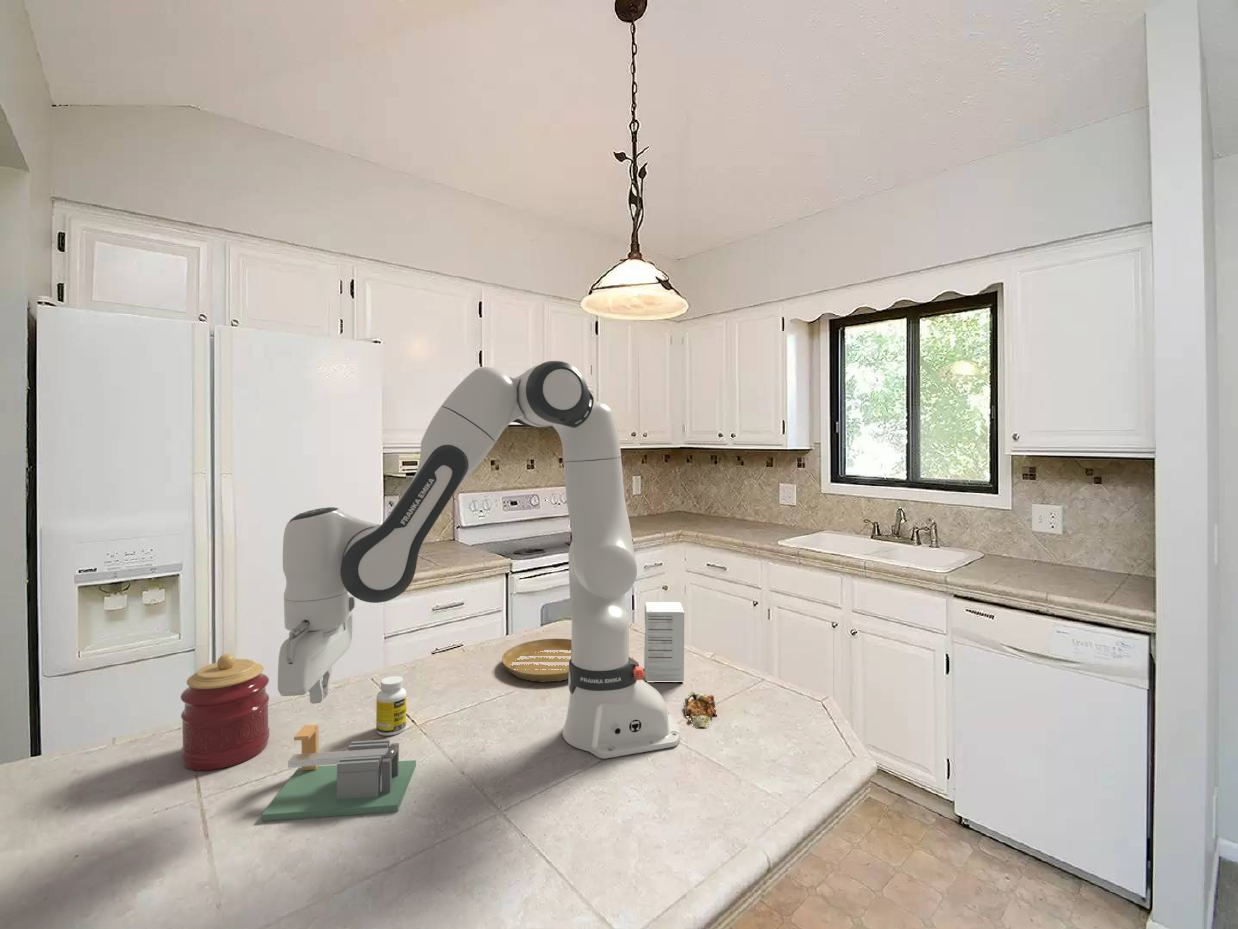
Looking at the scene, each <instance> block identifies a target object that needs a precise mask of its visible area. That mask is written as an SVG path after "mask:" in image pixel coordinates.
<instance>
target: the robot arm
mask: <svg viewBox="0 0 1238 929" xmlns="http://www.w3.org/2000/svg"><path fill="white" fill-rule="evenodd" d="M512 422H514V423H516V424H520V425H522V426H525V427H529V428H548V427H553V428H554V429H555V431H556V432H557V433H558V436H559V438H560V441H561V445H562V460H563V472H564V473H563V474H564V485H565V486H564V487H565V499H566V506H567V511H568V512H567V513H568V518H569V524H570V533H571V539H572V540H571V542H570V545H569V548H568V582H569V599H570V600H569V602H570V615H571V619H570V621H571V622H570V623H571V630H570V632H571V633H570V634H571V638H570V639H571V659H570V660H569V667H568V680H567V682H568V683H567V685H568V689H569V700H568V707H567V712H566V718H565V722H564V724H563V729H562V732H561V734H562V736H563V739H564V741H565V742H566V743H567V744H568V745H571V746H572V747H574V748H576V749H579V750H582V751H586V752H589V753H591V754H593V755H594V756H595V757H597V758H599V759H604V760H605V759H610V758H617V757H623V756H627V755H633V754H634V755H635V754H639V753H644V752H645V753H646V752H649V751H650V752H652V751H656V750H662V749H669V748H674V747H677V745H678V744H679V743H680V740H681V730H680V726H679V724H678V722H677V720H676V718H674V716H673V715H672V714H671V713H670V712H668V709H667V704H666V702H665V699H664V698H663V696H662V695H661V693H660V692H659V690H658V689H656V688H655V687H653V686H652V685H651V684H649V682H645V680H644V679H645V672H644V668H643V667H641V666H640V664H639V662H638V661H637V660H636V658H634V657H633V656H631V657H630V656H629V654H630V648H629V647H630V644H629V643H630V640H629V639H630V635H629V634H630V618H629V614H628V606H627V605H628V604H627V597H626V593H627V592H629V591H630V590H631V588H632V587H633V586H634V585H635V584H634V583H635V581H636V579H637V574H638V565H637V560H636V555H635V549H634V542H633V541H634V540H633V536H632V531H631V526H630V519H629V515H628V514H629V513H628V509H627V503H626V497H625V487H624V473H623V465H622V464H623V463H622V451H621V444H620V443H621V442H620V437H619V436H620V435H619V433H618V432H619V431H618V428H617V424H616V420H615V415H614V413H613V410H612V409H611V407H610V406H608V405H607V404H606V403H603V401H602V402H601V401H598V400H595V398H594V395H593V394H592V392H591V391H590V390H589V388H588V385H587V382H586V380H585V378H584V377H583V375H582V374H581V372H580V371H579V370H578V369H577V368H576V367H575V366H574V365H572V364H571V363H568V362H565V361H561V360H549V361H544V362H543V363H540V364H538V365H535V366H532V367H530V368H529V369H527V370H526V371H524V372H523V373H522V374H519V375H518V376H516V377H511V376H508V375H507V374H505V373H504V372H503V371H502V370H499V369H496V368H493V367H490V366H482V367H478V368H475V369H474V370H473V371H472V372H470V373H469V374H468V375H467V376H466V377H465V378H464V379H463V380H462V381H461V382H460V383H459V384H457V386H456V387H455V388H454V389H453V391H452V392H451V393H450V394H449V395H448V396H447V397H446V399H445V400H444V401H443V403H442V404H441V406H440V407H439V408H438V410H437V411H436V412H435V414H434V416H433V417H432V419H431V421H430V422H429V424H428V426H427V428H426V430H425V432H424V434H423V437H422V439H421V441H420V452H419V453H420V457H419V462H418V466H417V469H416V472H415V474H414V476H413V478H412V480H411V482H410V483H409V485H408V486H407V488H406V489H405V490H404V492H403V494H402V495H401V497H400V498H399V500H398V501H397V502H396V504H395V506H394V507H393V508H392V510H391V512H390V513H389V514H388V515H387V517H386V519H385V520H384V521H383V523H382V524H377V523H373V522H369V521H365V520H362V519H359V518H357V517H354V516H353V515H350V514H347V513H346V512H344V510H341V509H340V508H338V507H333V506H332V507H320V508H315V509H312V510H307V511H304V512H301V513H299V514H296V515H295V516H294V517H292V518H291V519H290V520H289V521H288V522H287V523H286V525H285V528H284V532H283V537H282V538H283V539H282V572H283V573H284V576H285V582H286V584H285V589H284V592H283V609H284V612H283V613H284V614H283V615H284V616H283V617H284V628H285V630H287V631H289V633H288V638H287V639H286V640H284V641H283V642H282V644H281V646H280V649H279V653H278V663H277V664H278V665H277V667H278V668H277V691H278V693H279V694H280V696H282V697H295V696H296V697H297V696H304V695H305V694H307V693H309V702H310V703H311V704H321V703H322V702H323V701H324V699H325V698H326V697H327V696H328V695H329V694H330V687H329V686H330V681H331V676H332V672H333V669H332V668H333V666H334V665H335V664H336V663H337V662H338V661H339V660H340V659H341V658H342V657H343V656H344V655H345V654H346V652H348V650H349V649H350V647H351V645H352V641H353V631H354V630H353V628H354V626H353V624H354V618H353V617H354V615H353V610H354V609H355V608H356V599H358V600H360V601H362V602H366V603H372V604H373V603H374V604H379V603H385V602H388V601H391V600H393V599H395V598H397V597H398V596H400V595H402V593H404V592H405V591H406V590H407V589H408V587H410V585H411V583H412V581H413V579H414V577H415V574H416V568H417V564H418V558H419V553H420V549H421V547H422V545H423V543H424V540H425V538H426V537H427V535H428V534H429V533H430V531H431V529H432V528H433V526H434V525H435V523H436V522H437V520H438V518H439V517H440V515H441V514H442V512H443V511H444V508H445V507H446V506H447V505H448V503H449V501H450V500H451V498H452V496H453V495H454V494H455V492H456V491H457V490H458V489H459V487H460V486H461V485H462V484H463V483H464V482H465V481H466V479H467V478H468V477H469V476H470V475H471V474H472V473H473V472H474V471H475V470H476V469H477V467H478V466H479V465H480V464H481V463H482V461H483V460H484V459H485V458H486V457H487V455H488V454H489V453H490V452H491V450H492V449H493V447H494V446H495V444H496V442H498V440H499V438H500V436H502V434H503V432H504V431H505V429H506V428H508V427H509V425H510V424H511V423H512ZM348 593H349V594H348Z"/></svg>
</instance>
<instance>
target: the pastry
mask: <svg viewBox="0 0 1238 929" xmlns="http://www.w3.org/2000/svg"><path fill="white" fill-rule="evenodd" d="M690 698H693V699H691V700H690ZM684 701H685V706H683V707H684V712H685V713H684V716H685V715H686V716H689V717H688V719H687V724H688V725H690V724H693V727H692V728H694V727H696V728H695V729H697V728H701V727H702V728H705V729H707V728H706V725H710V724H711V725H712V720H711V718H712V717H713V716H714V715H715V716H716V711H717V709H716V710H715V709H714V708H716V701H715V695H712V694H711V695H706V694H704V692H703V693H702V692H701V693H697V694H696V693H695V692H694V691H691V692H690V693H689V694H688V695H687V696H686V697H685V698H684ZM690 718H691V720H690ZM691 721H692V722H691Z"/></svg>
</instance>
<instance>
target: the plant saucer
mask: <svg viewBox="0 0 1238 929" xmlns="http://www.w3.org/2000/svg"><path fill="white" fill-rule="evenodd" d="M544 650H568V651H569V650H571V638H544V639H543V638H542V639H536V640H534V639H533V640H530V641H527V642H522V643H519V644H517V645H514V646H512V647H510V648H509V649H507V650H506V651H505V652H504V653H503V655H502V657H501V661H502V664H503V666H504V668H505V669H506V670H507V672H509V673H510V674H512V675H513V676H515V677H516V678H519V679H521V678H522V680H524V679H525V680H524V681H528V680H530V681H529V682H534V681H548V682H547V683H551V682H550V681H558V682H563V681H562V680H565V681H568V680H567V679H568V667H569V665H567V666H565V665H563V666H562V665H559V666H558V665H556V666H554V665H553V666H551V665H550V666H548V665H540V664H539V665H536V664H535V665H534V664H533V663H532V664H529V665H528V664H527V665H526V664H525V665H524V664H522V665H521V664H520V665H513V666H512V665H511V664H512V662H569V659H567V658H565V659H563V658H561V659H558V658H557V657H555V658H553V659H552V658H551V659H549V657H548V658H546V657H545V658H544V657H542V658H540V657H539V658H538V657H536V658H535V659H534V658H532V659H523V660H521V659H520V660H517V658H519V657H520V656H571V653H564V652H559V651H558V653H557V652H555V653H553V652H551V653H550V652H548V653H547V652H540V651H544ZM535 652H536V653H535ZM538 652H539V653H538ZM566 659H567V660H566ZM515 660H516V661H515ZM514 669H516V670H514ZM517 669H518V670H517ZM525 669H526V670H525ZM535 669H538V670H535ZM540 669H541V670H540ZM542 669H546V670H542ZM548 669H559V670H548ZM560 669H562V670H560ZM564 669H565V670H564Z"/></svg>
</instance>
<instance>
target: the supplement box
mask: <svg viewBox="0 0 1238 929" xmlns="http://www.w3.org/2000/svg"><path fill="white" fill-rule="evenodd" d="M643 658H644V659H643V660H644V661H643V662H644V664H643V666H644V667H643V671H644V674H645V675H644V681H685V678H684V677H685V611H684V608H683V606H682V603H681V602H678V601H677V602H676V601H669V602H668V601H664V602H663V601H662V602H661V601H660V602H659V601H645V602H644V652H643Z"/></svg>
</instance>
